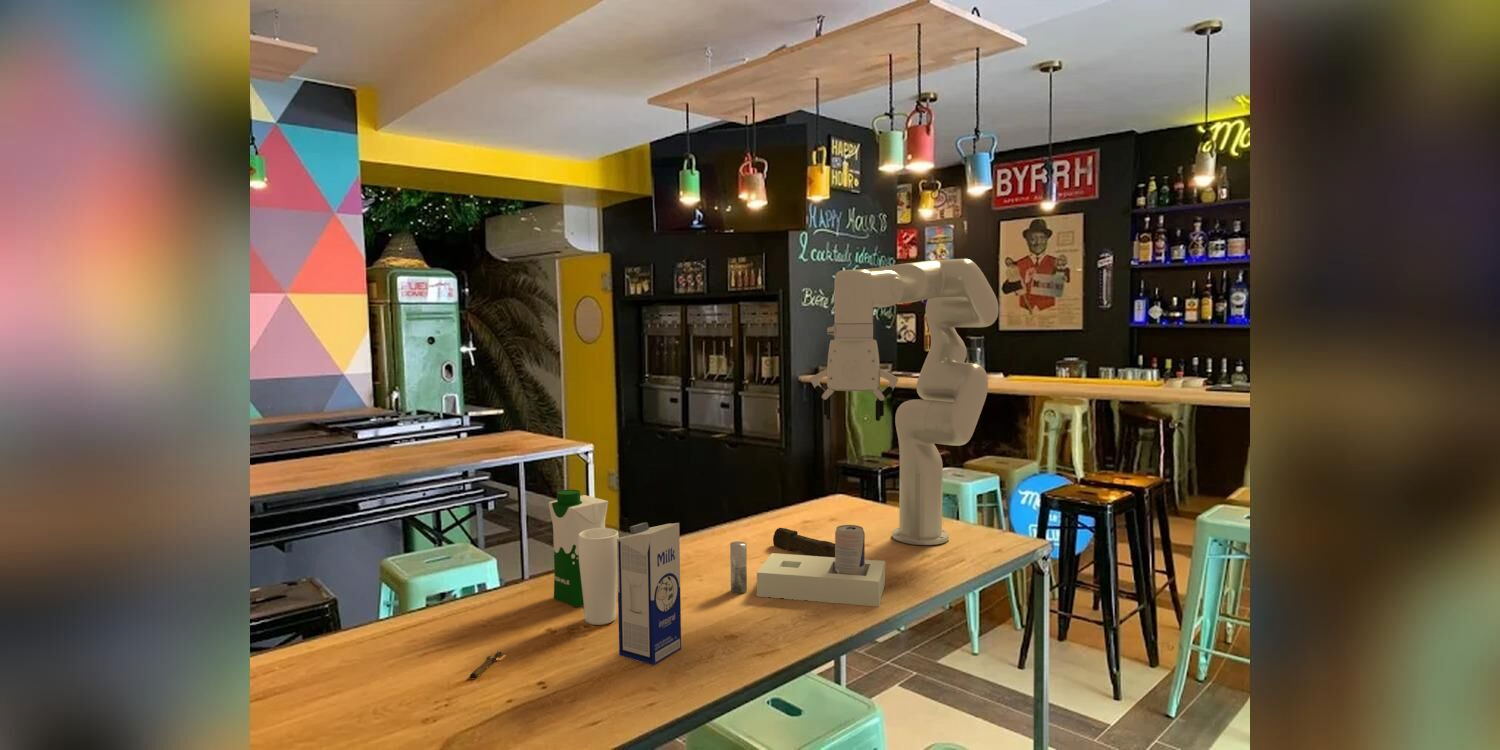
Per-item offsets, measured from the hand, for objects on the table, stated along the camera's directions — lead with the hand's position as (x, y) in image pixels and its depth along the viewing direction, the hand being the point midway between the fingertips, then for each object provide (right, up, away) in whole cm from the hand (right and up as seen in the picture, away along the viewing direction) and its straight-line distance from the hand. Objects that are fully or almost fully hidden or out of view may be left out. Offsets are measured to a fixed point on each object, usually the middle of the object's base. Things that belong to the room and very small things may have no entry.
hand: (853, 419), depth 160 cm
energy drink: (-2, -32, -11) cm, 33 cm away
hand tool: (-9, -30, +12) cm, 33 cm away
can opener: (-59, -35, -41) cm, 80 cm away
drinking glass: (-46, -33, -24) cm, 61 cm away
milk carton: (-36, -34, -37) cm, 61 cm away
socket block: (-7, -31, -10) cm, 34 cm away
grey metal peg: (-23, -31, -10) cm, 40 cm away
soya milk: (-51, -32, -13) cm, 62 cm away
